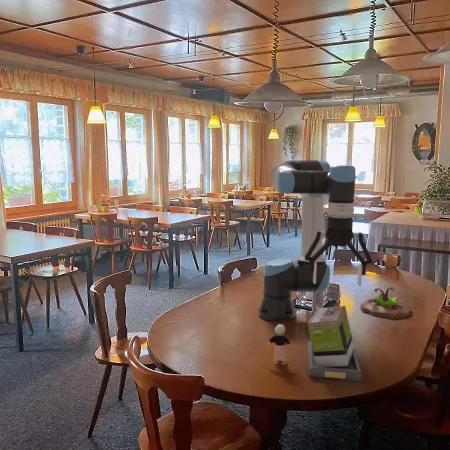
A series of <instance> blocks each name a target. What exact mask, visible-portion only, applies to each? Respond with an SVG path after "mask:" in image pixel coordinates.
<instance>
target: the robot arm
mask: <svg viewBox="0 0 450 450" xmlns="http://www.w3.org/2000/svg"><path fill="white" fill-rule="evenodd" d="M270 173H271V174H270V177H271V181H272V182H273V184H274V185H275V186H276V189H277V192H278V193H279V194H286V195H289V194H291V195H293V194H298V195H299V196H300V197H301V198H302V199H301V200H302V204H301V205H302V207H301V210H302V211H301V241H300V243H301V244H300V245H301V248H300V249H301V251H300V256H299V257H298V258H297V262H296V263H294V262H293V260H292V259H288V258H277V259H272V260H269V261H267V262H265V264H264V268H263V274H262V275H263V287H262V288H263V291H262V293H263V296H262V298H261V301H260V304H259V307H258V316H259V317H260V318H262V319H264V320H268V321H270V322H271V321H273V322H285V321H291V320H293V319H294V318H295V316H296V311H295V307H294V303H293V300H292V292H296V293H300V292H303V293H305V292H306V293H307V292H308V293H310V292H311V293H323V292H325V290H326V289H327V288H328V286H329V282H330V277H331V266H330V265H329V263H327V260H326V258H325V257H324V256H323V254H324V252H325V251H326V250H327V249H328V248H330V247H331V246H332V247H334V248H335V247H341V248H344V247H346V246H347V247H348V249H349V250H350V251H351V252H352V253H353V255H354V256H355V257H356V258H357V260H358V261H359V262H360V263H358V264H357V265H358V266H357V267H358V269H357V285H358V287H361V286H362V277H363V276H366V269H367V268H366V267H367V265H369V264H370V265H371V264H373V263H374V262H373V258H372V257H371V255H370V252H369V251H368V247H367V246H366V243H365V242H364V234H363V233H362V232H361V231H359V232H356V233H353V225H354V224H353V223H354V218H353V217H352V216H354V207H355V206H354V204H355V191H356V190H355V189H356V187H355V186H356V179H357V175H356V167H355V166H353V165H339V164H338V165H337V164H336V165H335V164H334V165H330V163H329V162H328V161H326V160H317V159H316V160H311V159H310V160H308V159H307V160H305V159H303V160H301V159H299V160H298V159H297V160H296V159H292V160H285V161H282V162H279V163H277V164H276V165H275V166H274V167H273V168H272V170H271V172H270ZM327 195H328V200H327V201H328V203H327V215H328V216H327V219H326V220H327V223H326V225H327V227H326V231H324V203H325V202H324V198H325V197H326V196H327ZM324 237H325V238H326V241H325V242H324V243H323V239H324ZM353 238H355V240H357V241H358V243H359V245H360V247H361V250H362V251H363V254H364V256H365V259H364V258H363V256H362V255H361V254H360V252H358V250H357V249H356V248H355V246H354V245H353V243H351V241H352V240H353Z"/></svg>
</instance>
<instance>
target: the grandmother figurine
mask: <svg viewBox="0 0 450 450" xmlns="http://www.w3.org/2000/svg"><path fill="white" fill-rule="evenodd" d="M285 331H286V327H285V325H283V324H280V323H279V324H278V325H276V327H275V328H274V333H276V335H273V336H271V337H270V338H269V339H268V343H267V344H266V346H267V347H271V345H272V344H274V346H273V363H274V365H279V364H281V365H283V366H284V365H287V364H288V360H287V349H286V347H288V349H289V350H291V349H292V347H293V346H292V345H291V341H290V340H289V339H288V337H287V336H285V335H284V334H285Z"/></svg>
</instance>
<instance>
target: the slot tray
mask: <svg viewBox="0 0 450 450" xmlns="http://www.w3.org/2000/svg"><path fill="white" fill-rule="evenodd" d="M307 343H308V345H307V349H308V350H307V354H308V356H307V357H308V377H309V378H319V379H328V380H339V381H340V380H341V381H351V382H361V381H362V380H361V379H362V370H361V367H360V363H359V359H358V356H357V353H356V349H355V347H354V349H353V352H352V354H351V357H350V360H349V362H348V365H347V366H338V367H317V366H316V362H315V358H314V353H313V348H312V343H311V340H308V342H307Z"/></svg>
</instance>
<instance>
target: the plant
mask: <svg viewBox="0 0 450 450" xmlns="http://www.w3.org/2000/svg"><path fill="white" fill-rule="evenodd" d="M373 290H374V292H375V293H377V292H378V291H380V294H378V295H377V296H373V298H369V299H367V300H365V301H363V302H362V303H361V304H360V307H359V308H360V311H361V312H362V313H365V314H368V315H370V316H372V317H373V316H374V317H379V318H383V319H384V318H385V319H389V320H397V319H404V318H407V317H409V316H410V315H411V314H410V313H411V309H412V307H411V306H410V305H407V304H405V303H403V302H399V301H396V300H397V297H391V298H390V296H389V290H390V291H391V292H393V293H394V292H395V291H396V290H395V288H394V287H393V286H389V287H388V288H387V289H386V290H385V292H384V290H382V289H381V288H379V287H378V288H374V289H373Z"/></svg>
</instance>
